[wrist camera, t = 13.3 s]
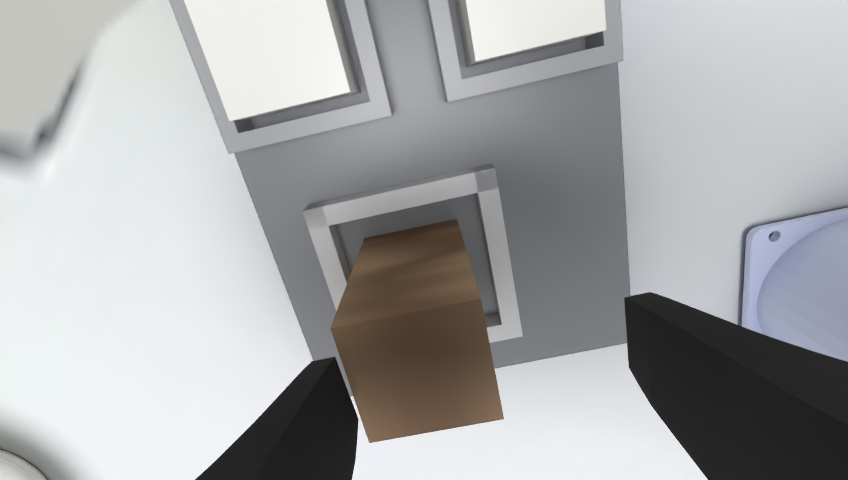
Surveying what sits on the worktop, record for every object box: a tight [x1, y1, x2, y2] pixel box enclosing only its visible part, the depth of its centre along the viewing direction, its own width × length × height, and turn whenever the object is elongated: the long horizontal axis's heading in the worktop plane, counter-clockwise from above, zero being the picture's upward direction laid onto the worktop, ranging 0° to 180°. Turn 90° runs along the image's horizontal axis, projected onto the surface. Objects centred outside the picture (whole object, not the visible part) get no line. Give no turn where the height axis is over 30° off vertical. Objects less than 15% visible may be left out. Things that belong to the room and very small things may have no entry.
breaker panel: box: [169, 0, 630, 396], centre depth 16 cm, size 15×20×4 cm
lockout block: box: [330, 219, 504, 443], centre depth 14 cm, size 4×4×7 cm
